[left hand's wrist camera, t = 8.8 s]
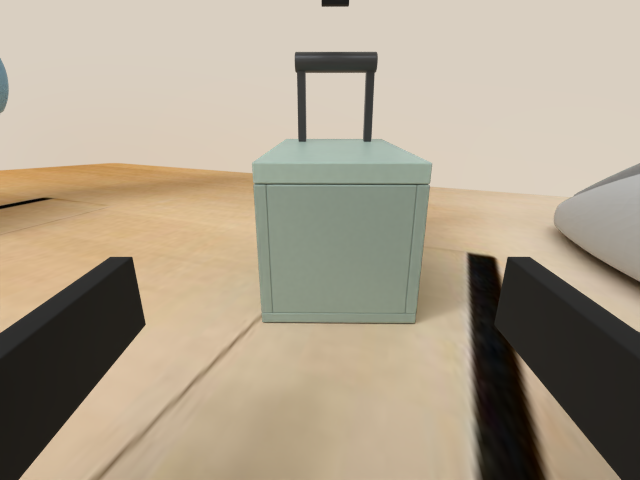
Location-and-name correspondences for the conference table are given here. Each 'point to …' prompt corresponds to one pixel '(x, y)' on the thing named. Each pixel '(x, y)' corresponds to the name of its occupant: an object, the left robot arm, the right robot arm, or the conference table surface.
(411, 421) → the conference table surface
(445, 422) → the conference table surface
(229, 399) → the conference table surface
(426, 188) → the chest
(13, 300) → the conference table surface
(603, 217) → the projector
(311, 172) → the lid
